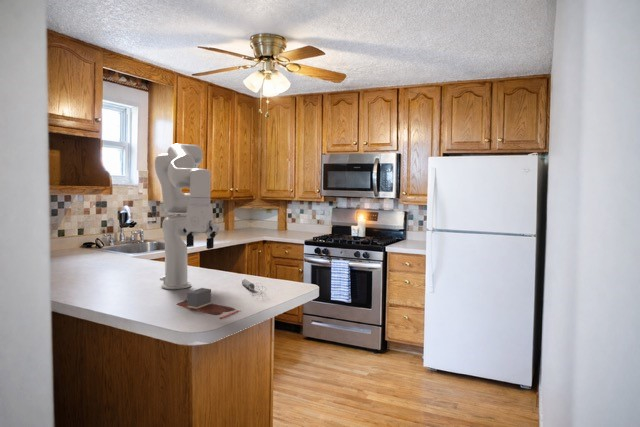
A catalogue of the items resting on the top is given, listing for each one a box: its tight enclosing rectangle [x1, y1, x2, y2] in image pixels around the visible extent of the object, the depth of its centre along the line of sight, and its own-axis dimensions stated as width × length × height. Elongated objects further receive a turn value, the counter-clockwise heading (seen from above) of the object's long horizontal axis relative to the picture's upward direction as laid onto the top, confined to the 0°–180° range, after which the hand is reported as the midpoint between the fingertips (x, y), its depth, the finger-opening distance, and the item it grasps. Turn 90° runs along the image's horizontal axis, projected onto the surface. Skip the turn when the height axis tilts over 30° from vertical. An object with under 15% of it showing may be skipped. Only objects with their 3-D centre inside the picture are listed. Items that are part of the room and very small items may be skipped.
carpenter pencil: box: [219, 309, 242, 320], centre depth 156 cm, size 1×12×1 cm, turn 154°
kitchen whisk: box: [241, 278, 267, 300], centre depth 191 cm, size 6×34×6 cm, turn 22°
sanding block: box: [186, 287, 212, 309], centre depth 165 cm, size 4×8×6 cm, turn 155°
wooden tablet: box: [175, 299, 236, 316], centre depth 166 cm, size 27×10×2 cm, turn 56°
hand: (199, 247), depth 167 cm, fingers open, 9 cm apart
